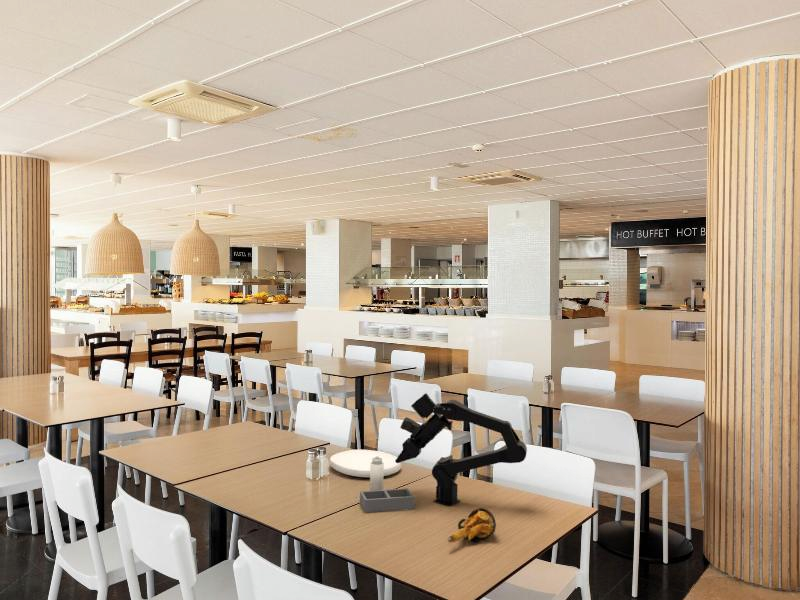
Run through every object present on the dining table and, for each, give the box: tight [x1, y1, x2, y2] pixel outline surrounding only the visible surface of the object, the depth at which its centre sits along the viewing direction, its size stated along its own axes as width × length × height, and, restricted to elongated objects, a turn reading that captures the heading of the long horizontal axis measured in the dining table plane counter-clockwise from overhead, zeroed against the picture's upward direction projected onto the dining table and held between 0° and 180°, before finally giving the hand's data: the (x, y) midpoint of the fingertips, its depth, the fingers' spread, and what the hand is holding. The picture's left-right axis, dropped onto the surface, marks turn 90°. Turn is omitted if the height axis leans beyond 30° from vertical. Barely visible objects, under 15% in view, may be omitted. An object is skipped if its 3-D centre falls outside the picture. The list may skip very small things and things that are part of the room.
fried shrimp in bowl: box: [447, 507, 497, 545], centre depth 171 cm, size 9×11×18 cm
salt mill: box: [369, 456, 385, 491], centre depth 210 cm, size 5×5×14 cm
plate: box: [329, 449, 402, 478], centre depth 239 cm, size 28×6×27 cm
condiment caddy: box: [359, 487, 416, 514], centre depth 199 cm, size 16×9×4 cm, turn 104°
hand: (399, 458), depth 208 cm, fingers open, 9 cm apart
